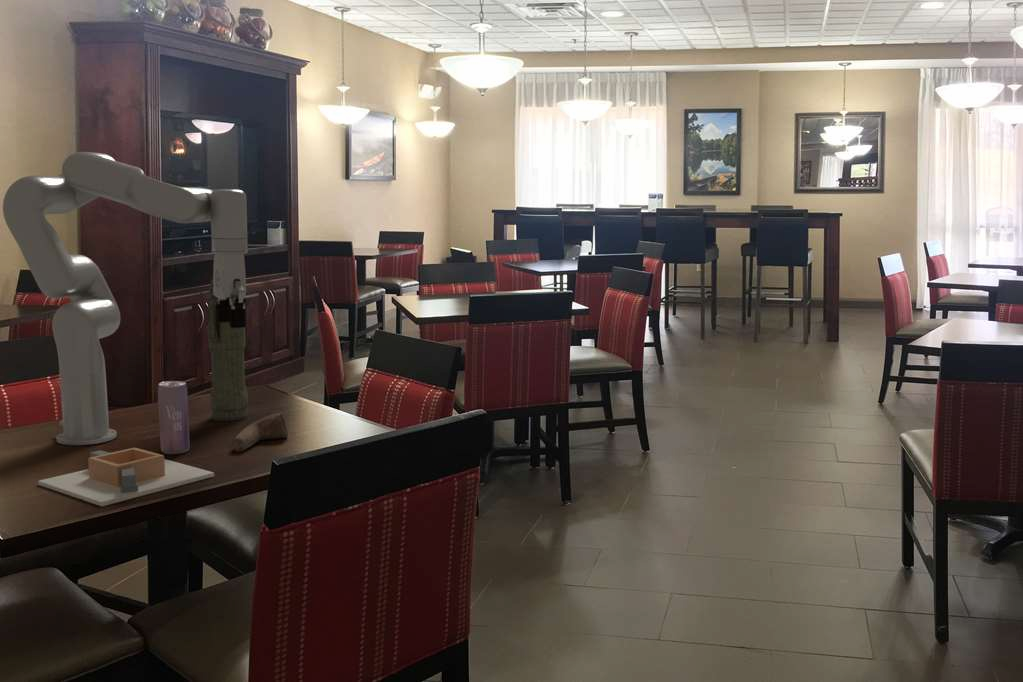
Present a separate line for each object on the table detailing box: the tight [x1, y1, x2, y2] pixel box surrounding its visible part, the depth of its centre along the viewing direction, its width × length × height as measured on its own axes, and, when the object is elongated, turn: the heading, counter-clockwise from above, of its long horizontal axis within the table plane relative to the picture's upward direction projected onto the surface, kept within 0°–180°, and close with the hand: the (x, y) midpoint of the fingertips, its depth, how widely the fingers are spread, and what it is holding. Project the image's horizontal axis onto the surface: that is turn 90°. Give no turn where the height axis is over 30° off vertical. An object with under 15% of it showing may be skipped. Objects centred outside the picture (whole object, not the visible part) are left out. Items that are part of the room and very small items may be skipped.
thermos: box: [207, 278, 249, 422], centre depth 247 cm, size 9×12×35 cm
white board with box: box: [37, 447, 215, 507], centre depth 194 cm, size 22×24×5 cm
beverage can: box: [157, 380, 191, 455], centre depth 215 cm, size 6×6×15 cm
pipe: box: [231, 411, 289, 452], centre depth 223 cm, size 6×17×10 cm
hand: (231, 324), depth 219 cm, fingers open, 9 cm apart
